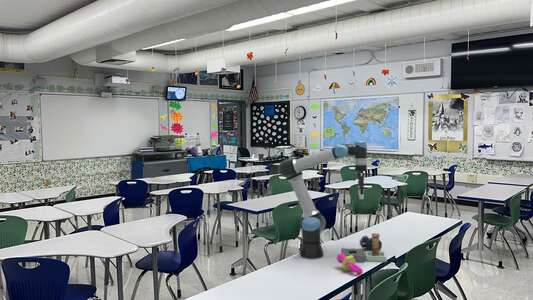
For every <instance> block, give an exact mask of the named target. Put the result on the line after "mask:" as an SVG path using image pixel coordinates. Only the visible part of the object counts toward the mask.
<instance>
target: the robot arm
mask: <svg viewBox="0 0 533 300" xmlns="http://www.w3.org/2000/svg"><path fill="white" fill-rule="evenodd" d="M367 155H368V145H367V141H366V140H354V143H337V144H336V145H335V146H334V147H331V148H328V149H325V150H322V151H318V152H316V153H313V154H309V155H307V156H303V157H300V158H297V159H296V158H287V159H285V160H282V161H281V162H280V163H279V165H278V173H279V174H280V175H281V176H282V177H284V178H285V179H286V181H287V182H289V183H290V184H291V187H292V189H293V192H294V194H295V196H296V198H297V200H298V203H299V205H300V207H301V210H302V212H303V214H304V215H303V219H302V220H301V221H302V222H301V232H302V233H301V238H302V239H301V240H302V241H301V247H300V248H299V255H300V257H302V258H304V259H310V260H311V259H313V260H314V259H319V258H322V257H323V256H324V251H323V248H322V244H321V234H322V232H323V231H324V230H325V228H326V225H327V223H326V222H327V221H326V219H325V217H324V216H323V215H322V214H321V212H320V211H319V210H318V209H317V208H316V206H315V203H314V202H313V200H312V197H311V195H310V193H309V190H308V188H307V186H306V184H305V182H304V179H303V175H304V174H303V172H302V171H304V170H306V169H310V168H313V167H317V166H319V165H323V164H326V163H328V162H331V161H335V160H338V159H342V158H346V157H347V156H354V171H356V172H358V173H357V180H358V181H357V182H358V183H357V185H358V186H357V189H358V192H357V193H358V196H359V200H364V199H365V183H364V180H365V174H364V172H367V170H368V162H367V161H369V159H368V158H367V157H368V156H367Z"/></svg>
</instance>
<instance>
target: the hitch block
mask: <svg viewBox="0 0 533 300" xmlns="http://www.w3.org/2000/svg"><path fill="white" fill-rule="evenodd" d="M340 253H344V255H345V256H346V257H347V256H350V255H352V256H353V257H354V259H355V261H356V262H355V263H365V262H366V258H365V250H364V248H346V247H345V248H340Z"/></svg>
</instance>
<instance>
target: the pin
mask: <svg viewBox="0 0 533 300" xmlns="http://www.w3.org/2000/svg"><path fill="white" fill-rule="evenodd" d="M371 238H372V256H379V252H380V250H379V240H380V234H379V233H375V232H374V233H371Z"/></svg>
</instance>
